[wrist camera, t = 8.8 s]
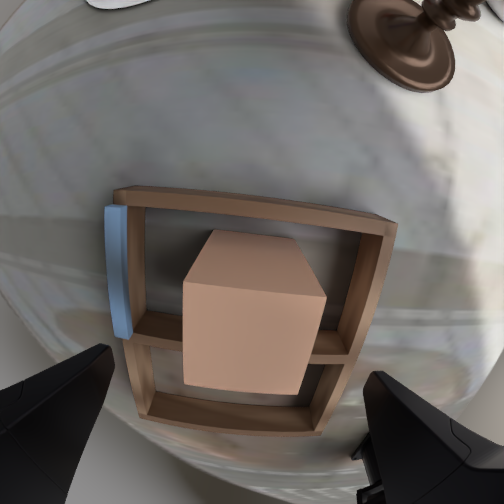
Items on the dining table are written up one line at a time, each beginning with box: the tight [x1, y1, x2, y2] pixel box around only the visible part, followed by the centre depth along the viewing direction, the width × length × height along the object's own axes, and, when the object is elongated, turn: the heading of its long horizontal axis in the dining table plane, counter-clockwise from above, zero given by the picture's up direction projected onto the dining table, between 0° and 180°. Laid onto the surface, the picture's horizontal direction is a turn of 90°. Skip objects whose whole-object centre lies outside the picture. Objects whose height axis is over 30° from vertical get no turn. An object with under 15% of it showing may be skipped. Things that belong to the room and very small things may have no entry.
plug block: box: [183, 229, 327, 395], centre depth 14 cm, size 5×5×8 cm
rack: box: [104, 186, 398, 437], centre depth 17 cm, size 18×16×4 cm
